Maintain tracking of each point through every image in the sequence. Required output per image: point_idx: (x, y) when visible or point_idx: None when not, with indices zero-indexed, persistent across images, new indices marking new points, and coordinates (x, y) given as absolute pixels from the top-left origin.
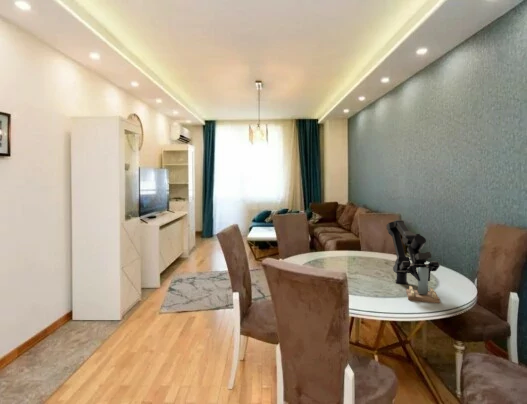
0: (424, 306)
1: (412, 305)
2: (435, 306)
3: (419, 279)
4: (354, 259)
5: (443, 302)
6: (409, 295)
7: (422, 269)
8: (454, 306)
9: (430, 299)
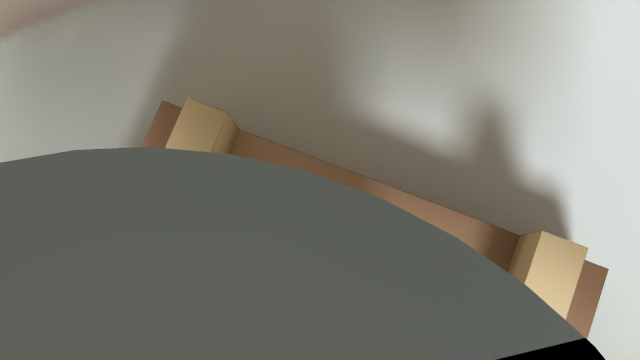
0: (447, 35)
1: (600, 73)
2: (296, 31)
3: None
4: None
5: None
6: (579, 300)
7: (493, 286)
8: (44, 26)
9: (285, 149)
